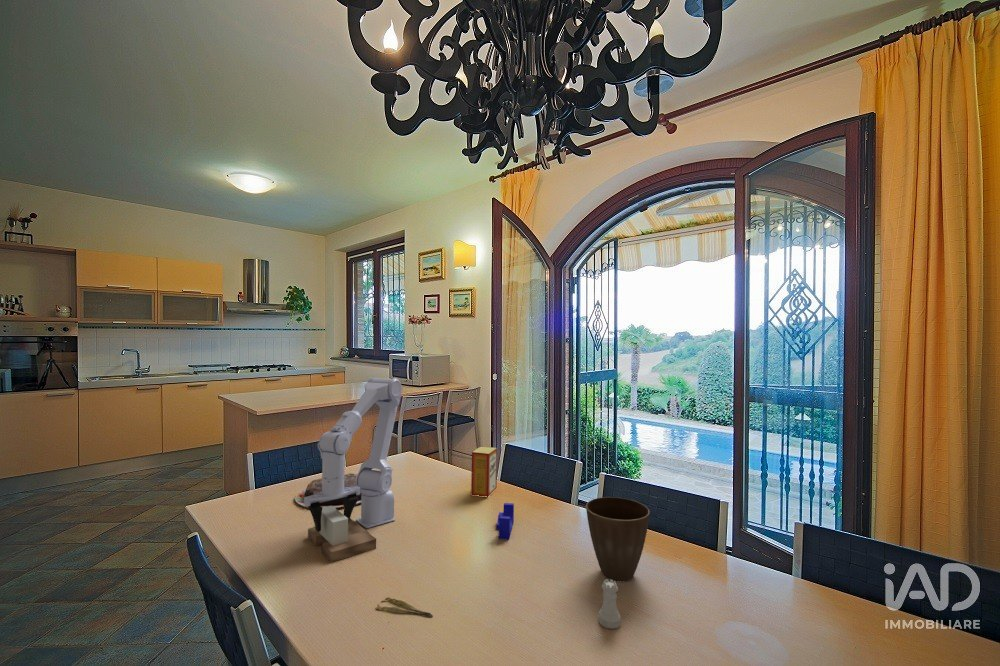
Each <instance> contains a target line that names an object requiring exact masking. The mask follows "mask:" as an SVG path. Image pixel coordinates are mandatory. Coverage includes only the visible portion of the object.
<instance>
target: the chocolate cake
mask: <svg viewBox="0 0 1000 666" xmlns="http://www.w3.org/2000/svg"><path fill="white" fill-rule="evenodd" d="M356 476H357V474H355V473H347V474H344V488H347V487H355V486H356ZM320 492H322V477H321V478H318V479H314V480H312V481H311V482H309V483H308V484H307V486H306V488H305V489H303V490H301V491H300V492H298V493H297V494H296V495H295V496H294V502H295V504H297V505H299V506H300V505H301V507H303V508H305V507H306V506H305V505H304V497H308V496H311V495H314V494H317V493H320ZM356 496H357V497H358V501H357V503H356V504H355V506H354V507H357V506H359V504H360V505H361V493H360V495H356ZM319 504H320V506H321V507H322V508H323V507H327V506H333V507H334V508H336V509H337V510H338V509H342V508H344V504H343V498H339V499H334V500H330V501H325V502H321V503H319ZM356 505H357V506H356ZM341 507H342V508H341ZM306 509H308V510H309V508H308V506H307V507H306Z"/></svg>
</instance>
